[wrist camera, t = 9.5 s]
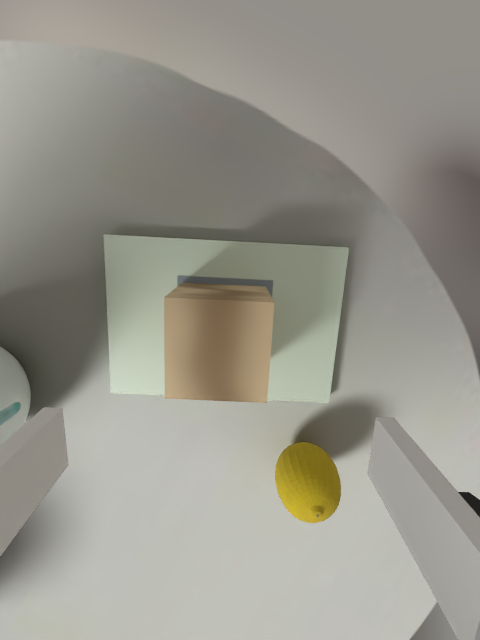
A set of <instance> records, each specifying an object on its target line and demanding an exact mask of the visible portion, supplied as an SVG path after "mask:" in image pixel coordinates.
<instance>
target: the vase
mask: <svg viewBox="0 0 480 640" xmlns="http://www.w3.org/2000/svg"><path fill="white" fill-rule="evenodd" d="M30 402H31V391H30V385H29V381H28V377H27V375H26V373H25V371H24V369H23V367H22V366H21V364H20V363H19V362H18V361H17V359H16V358H15V357H14V356H13V355H12V354H10V353H9V352H8V351H7V350H5V349H4V348H2V347H1V346H0V445H1V444H3V443H4V442H5V441H6V440H7V439H8V438H9V437H11V436H12V435H13V434H14V433H15V432H16V431H17V430H19V429H20V428H21V427H22V426H23V425H24V424H25V421H26V419H27V416H28V413H29V409H30Z"/></svg>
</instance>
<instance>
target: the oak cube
mask: <svg viewBox="0 0 480 640" xmlns="http://www.w3.org/2000/svg"><path fill="white" fill-rule="evenodd" d="M274 304H275V302H274V301H273V299H272V297H271V295H270V293H269V291H268V290H267V288H266V286H245V285H224V284H204V283H183V282H182V283H181V284H180V285H179V286H177V287H176V288H175V289H174V290H173V291H171V292H170V293H169V294H168V295H166V296H165V297H164V357H165V398H167V399H191V400H214V401H238V402H261V403H267V397H268V384H269V370H270V357H271V344H272V331H273V318H274Z"/></svg>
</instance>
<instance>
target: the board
mask: <svg viewBox="0 0 480 640" xmlns="http://www.w3.org/2000/svg"><path fill="white" fill-rule="evenodd" d="M103 238H104V259H105V280H106V301H107V323H108V344H109V365H110V387H111V393H123V394H145V395H165V357H164V297H165V296H166V295H168V294H169V293H170V292H171V291H173V290H174V289H175V288H176V287H177V286H179V285H180V284H181V283H182V282H183V283H204V284H224V285H245V286H266V288H267V290H268V291H269V293H270V295H271V297H272V299H273V301H274V302H275V304H274V318H273V331H272V344H271V357H270V370H269V384H268V397H267V400H277V401H299V402H321V403H329V400H330V392H331V384H332V377H333V369H334V361H335V353H336V346H337V338H338V330H339V322H340V315H341V307H342V299H343V291H344V284H345V276H346V268H347V260H348V253H349V247H334V246H315V245H297V244H278V243H259V242H240V241H222V240H203V239H184V238H165V237H146V236H128V235H109V234H103Z"/></svg>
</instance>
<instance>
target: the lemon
mask: <svg viewBox="0 0 480 640" xmlns="http://www.w3.org/2000/svg"><path fill="white" fill-rule="evenodd" d="M275 481H276V486H277V490H278V494H279V496H280V498H281V500H282V502H283V504H284V506H285V507H286V509H287V510H288V511H289V512H290V513H291V514H292V515H293V516H294V517H296V518H297V519H299V520H301V521H304V522H308V523H316V522H321V521H324V520H326V519H327V518H329V517H330V516H331V515H332V514H333V513H334V512H335V510H336V509H337V507H338V505H339V501H340V497H341V484H340V478H339V474H338V471H337V468H336V466H335V464H334V462H333V461H332V459H331V458H330V456H329V455H328V454H327V453H326V452H325V451H324V450H323V449H322V448H320V447H319V446H317V445H315V444H312V443H308V442H299V443H295V444H292V445H290V446H288V447H287V448H286V449H285V450H284V451H283V452H282V454H281V455H280V456H279V459H278V461H277V464H276V471H275Z"/></svg>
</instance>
